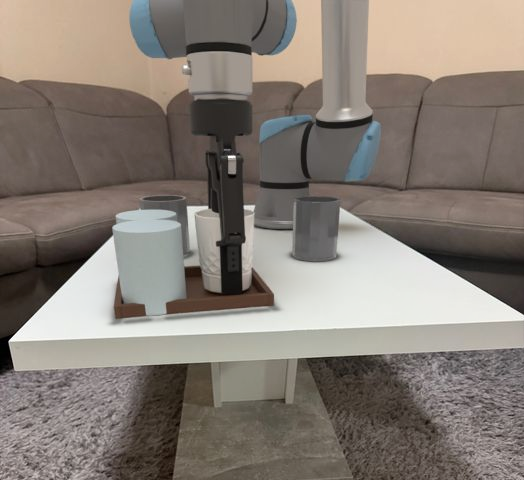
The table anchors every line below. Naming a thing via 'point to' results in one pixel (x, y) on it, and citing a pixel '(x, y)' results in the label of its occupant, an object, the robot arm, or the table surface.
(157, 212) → the blue round block
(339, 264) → the table surface
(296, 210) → the grey cup
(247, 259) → the white cup
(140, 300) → the pale blue cylinder
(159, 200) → the grey cup
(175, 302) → the tray
